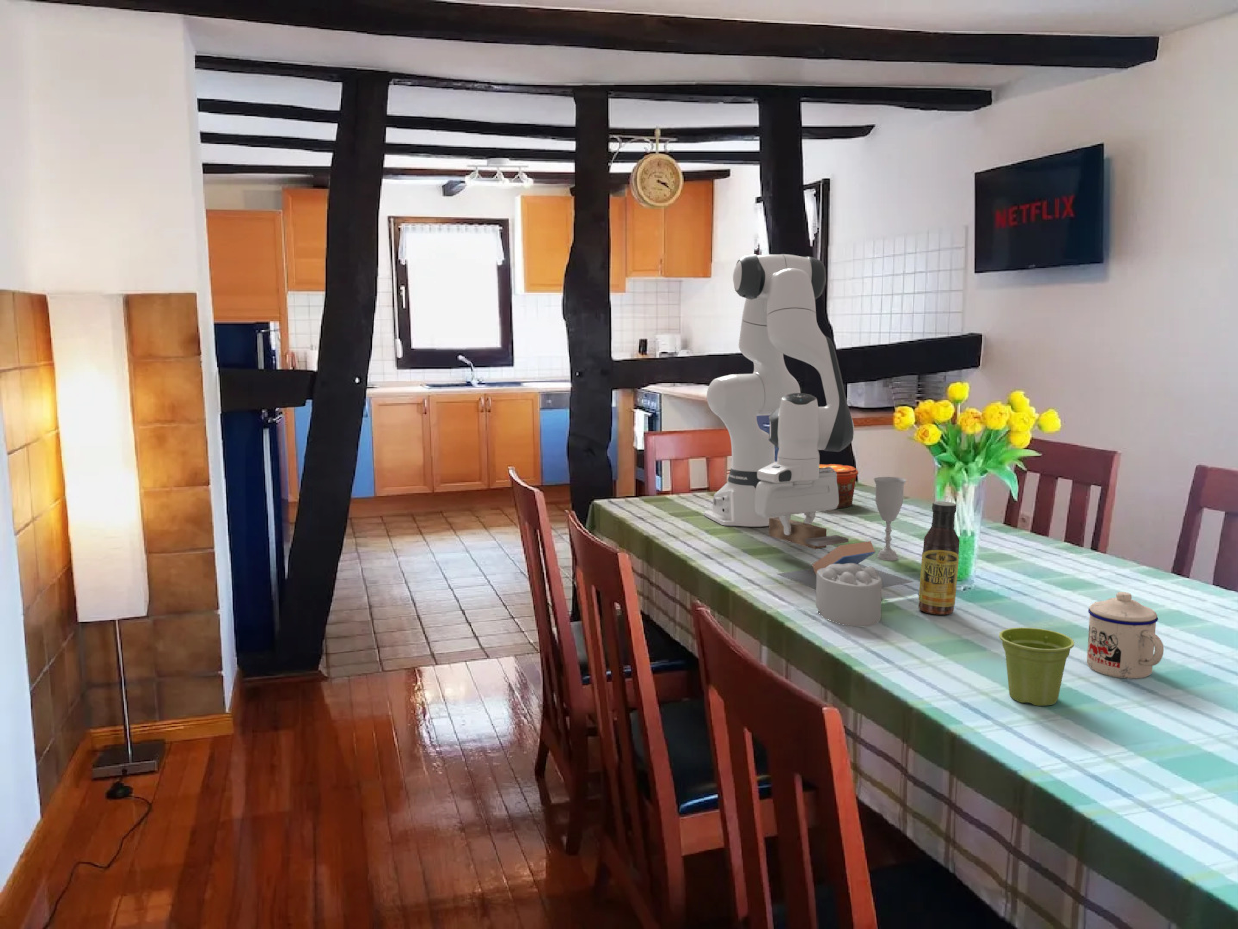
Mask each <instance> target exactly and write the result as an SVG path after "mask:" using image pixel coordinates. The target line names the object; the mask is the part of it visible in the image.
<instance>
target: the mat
mask: <svg viewBox="0 0 1238 929" xmlns="http://www.w3.org/2000/svg"><path fill="white" fill-rule="evenodd" d="M857 565H858V566H860V567H861V568H866V567H868V566H866V565H863V564H861V563H858V564H857ZM876 571H877V573H878V576H879V577H880V578H881V579H882V588H887V587H892V586H897V585H903V584H908V583H909V584H910V583H913V582H914V581H913V580H910V579H906V578H903V577H901V576H897V575H895V574H892V573H887V572H884V571H882V570H878V569H876ZM777 575H779V576H781V577H783V578H786V579H789V580H791V581H794V582H796V583H799V584H802V585H805V586H807V587H809V588H813V589H815V590H816V582H817V576H816V574H815V571H814V568H813V567H812V568H806V569H799V570H794V571H792V570H791V571H787V572H781V573H777Z"/></svg>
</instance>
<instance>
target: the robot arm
mask: <svg viewBox="0 0 1238 929" xmlns="http://www.w3.org/2000/svg"><path fill="white" fill-rule="evenodd" d="M826 273H827V272H826V266H825V265H824V263H823V262H822V260H820V259H819V258H816V257H812V256H799V255H795V254H788V253H787V254H785V253H781V254H756V253H752V254H751V253H750V254H745V255H742V256H741V257H740V258H739V259H738V260H737V262H736V264H735V267H734V270H733V274H732V281H733V285H734V291H735V293H736V294H737V295H738V296H739V297H742V298H744V299H745V301H744V305H743V309H742V310H743V311H742V316H741V325H740V330H739V340H738V348H739V351H740V353H741V354H742V355H743V357H745V358H746V359H748V360H749V361H751V362H753V372H752V373H738V374H737V373H735V374H734V373H733V374H728V375H727V374H726V375H723V376H718V377H717V378H714V379H712V381H711V382H710V383H709V386H708V387H707V391H706V401H707V402H706V403H707V405H708V408H710V410H711V412H713V414H714V415H716V416H717V417H718V418H719V419H720V420H721V421H722V422H723V424H724V425H725V427H726V429H727V431H728V434H729V435H728V436H729V437H730V445H731V468H730V469H726V471H727V472H726V475H728V477H727V482H725V484H724V485H723V486H722V487H721V488H720V489H719V490H717V492H715V493H714V494H713V498H712V509H708V510H705V511H703V516H705V517H706V518H709V519H710V520H712V521H714V522H716V523H718V524H719V525H720V526H721V525H722V526H728V527H729V526H731V527H732V526H733V527H734V526H735V527H739V526H740V527H750V528H751V527H752V528H753V527H755V528H756V527H769V518H773V517H779V519H780V521H781V523H782V525H783V526H784V534H785V535H793V534H794V527H793V526H791V525H790V523H789V521H788V520H790V519H791V515H799V514H800V515H801V514H803V515H804V516H805V518H804V521H803V523H806V524H810V525H813V522H814V520H815V518H816V513H817V512H823V511H832V510H836V509H838V508H837V506H838V504H839V495H838V486H837V474H836V472H835V470H833V469H832V468H831V467H826V468H819V464H820V452H819V451H824V452H834V453H835V452H836V453H839V452H842V451H843V450H844V449H846V448H847V447H849V445H850V444H851V443H852V442H853V439H854V435H855V424H854V421H853V417H852V415H851V412H850V408H849V404H848V401H847V400H848V399H847V397H846V391H845V388H844V383H843V378H842V373H841V369H840V366H839V360H838V357H837V353H836V350H835V346H834V344H833V341H832V339H831V338H830V337H828V336H827V335H825V334H824V333H823V332H822V330H821V328H820V327H819V325H818V322H817V311H816V310H817V309H816V308H817V307H816V300H817V299H818V298H820V296H822V294H823V292H824V289H825V286H826V281H827V274H826ZM784 355H785V356H787V357H790V358H793V359H796V360H798V361H801V362H803V363H805V364H808V365H811V366H812V367H814V368H815V369H816V371H817V372H818V374H819V375H820V378H821V383H822V388H823V392H824V397H825V401H826V405H825V406H819V405H818V404H819V403H818V399H817V397H815V396H814V395H812V394H811V393H810V394H808V393H802V392H801V387H800V384H799V382H798V381H797V379H796V378H795V377H794V376H793V375H792V374H791V373H790V372H789V370H788V368H787V366H786V363H785V359H784ZM758 416H759V417H760V416H768V419H769V433H768V432H766V431H764V430H763V429H761V428H760V426H759V424H758V420H757V419H758V418H757V417H758ZM775 447H776V448H777V449H778V452H777V454H776V455H777V460H775V457H776V456H775V450H776V449H775ZM831 471H833V472H831Z"/></svg>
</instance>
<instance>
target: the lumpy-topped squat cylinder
mask: <svg viewBox="0 0 1238 929" xmlns="http://www.w3.org/2000/svg"><path fill="white" fill-rule="evenodd" d="M876 570H877V569H876V568H874V567H872V566H867V567H866V568H861V567H860V566H858V565H857V564H854V563H847V564H831V565H828V566H827V567H826V568H821V569H819V570H818V571H817V582H816V589H815V592H816V593H815V594H816V595H815V608H816V609H817V610H818V612H817V613H818V614H819V613H820V614H819V615H820V616H821V615H822V616H823V617H824V618H825V619H824V620H826V619H829V620H831V621H834V622H833V623H835V622H837V623H836V624H838V623H840V624H839V625H842V624H844V625H843V626H847V625H848V626H849V627H855V626H865V627H871V626H874V625H876V624H878V623H879V622H880V621H881V618H882V593H883V592H882V591H883V590H882V588H883V587H882V579H881V578H880V577H879V576H878V573H877V571H876ZM822 616H821V617H822ZM823 617H822V618H823ZM879 620H880V621H879ZM831 621H830V622H831ZM848 626H847V627H848Z"/></svg>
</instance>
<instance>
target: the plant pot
mask: <svg viewBox="0 0 1238 929" xmlns="http://www.w3.org/2000/svg"><path fill="white" fill-rule="evenodd" d="M998 638H999V640H1000V641H1001V642H1002V648H1003V650H1004V654H1005V663H1006V673H1007V674H1006V675H1007V682H1008V685H1007V686H1008V693H1009V694H1008V695H1009V696H1010V698H1012V699H1013V700H1015V701H1017V702H1019V703H1023V704H1024V703H1029V704H1032V705H1033V706H1041V707H1042V706H1043V707H1044V706H1053V705H1055V704H1056V703H1057V701H1058V700H1059V696H1060V690H1061V687H1062V681H1063V677H1064V671H1065V666H1066V662H1067V658H1068V657H1069V656H1070V653H1071V652H1070V651H1071V649H1072V648H1074V646H1075V641H1074V639H1073V638H1071V637H1070V636H1068V635H1066V634H1064V633H1061V632H1057V631H1055V630H1050V629H1045V628H1036V627H1009V628H1007V629H1006V628H1005V629H1003V630H1001V631H1000V632H999V634H998Z"/></svg>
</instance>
